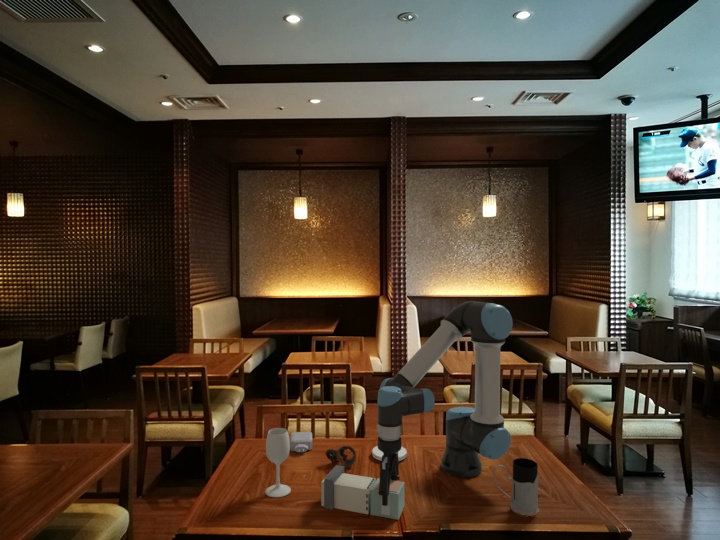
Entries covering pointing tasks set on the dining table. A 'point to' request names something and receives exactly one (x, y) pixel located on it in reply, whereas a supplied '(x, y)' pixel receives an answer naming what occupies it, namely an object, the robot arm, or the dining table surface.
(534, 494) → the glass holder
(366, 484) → the cream rectangular block
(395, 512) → the retro monitor box
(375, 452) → the plastic lid
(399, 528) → the dining table surface
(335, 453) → the brown hollow ring
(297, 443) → the charger
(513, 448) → the dining table surface
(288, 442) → the wineglass
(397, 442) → the robot arm
